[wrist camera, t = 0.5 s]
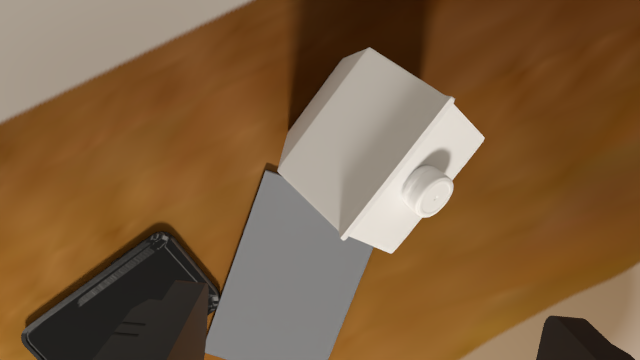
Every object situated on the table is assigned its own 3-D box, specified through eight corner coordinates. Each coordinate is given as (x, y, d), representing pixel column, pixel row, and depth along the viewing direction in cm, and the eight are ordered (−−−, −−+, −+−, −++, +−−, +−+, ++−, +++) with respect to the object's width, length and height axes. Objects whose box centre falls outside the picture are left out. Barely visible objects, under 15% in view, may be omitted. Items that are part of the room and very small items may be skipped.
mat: (265, 169, 39) (265, 170, 39) (385, 211, 40) (386, 213, 40) (203, 348, 42) (202, 351, 41) (316, 383, 43) (316, 387, 42)
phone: (224, 303, 40) (80, 405, 42) (226, 297, 42) (86, 396, 43) (160, 227, 39) (13, 335, 40) (164, 223, 40) (21, 328, 41)
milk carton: (286, 134, 39) (270, 189, 20) (342, 57, 38) (381, 40, 19) (360, 188, 40) (410, 288, 21) (417, 114, 39) (522, 152, 20)
